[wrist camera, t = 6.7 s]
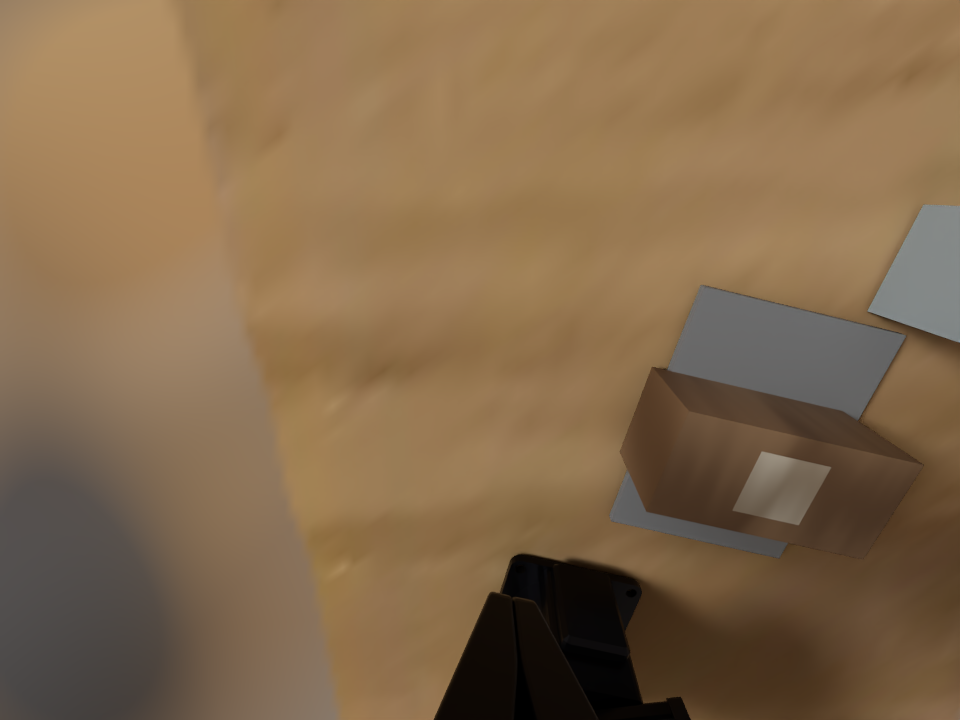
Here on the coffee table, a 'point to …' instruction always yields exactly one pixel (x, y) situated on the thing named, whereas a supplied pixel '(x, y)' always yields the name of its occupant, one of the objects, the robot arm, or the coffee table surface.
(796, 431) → the walnut block
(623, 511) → the felt mat
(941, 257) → the bluegrey block
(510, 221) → the coffee table surface
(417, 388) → the coffee table surface
